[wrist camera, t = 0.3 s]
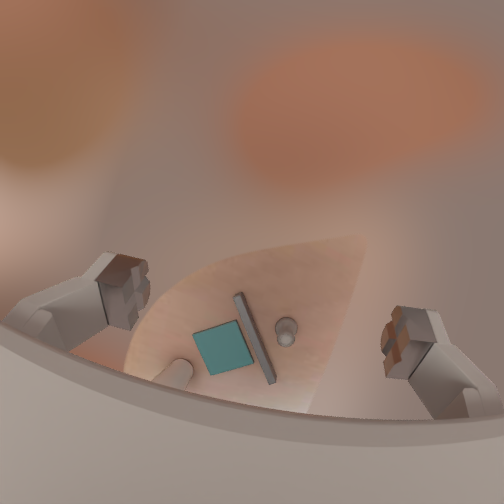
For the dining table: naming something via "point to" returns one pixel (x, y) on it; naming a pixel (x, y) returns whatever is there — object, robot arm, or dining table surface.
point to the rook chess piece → (286, 331)
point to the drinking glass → (176, 375)
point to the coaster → (223, 348)
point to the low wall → (254, 337)
